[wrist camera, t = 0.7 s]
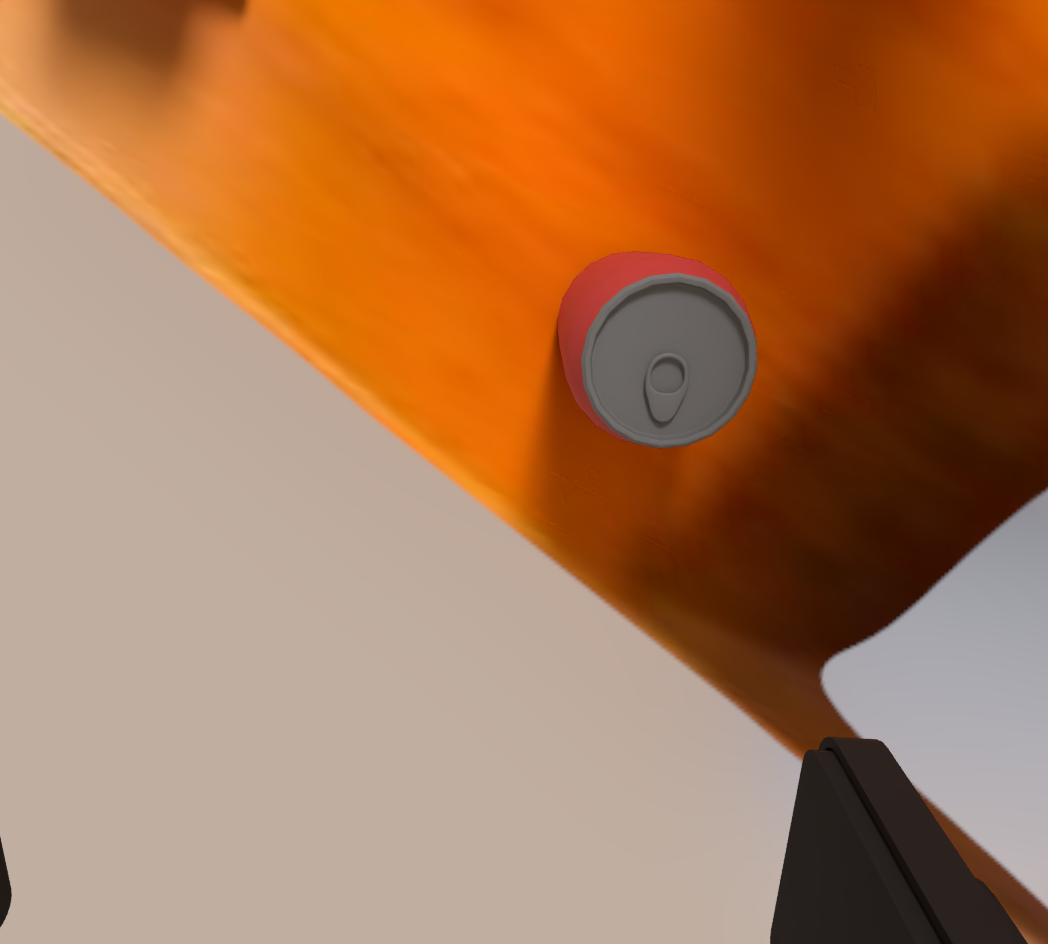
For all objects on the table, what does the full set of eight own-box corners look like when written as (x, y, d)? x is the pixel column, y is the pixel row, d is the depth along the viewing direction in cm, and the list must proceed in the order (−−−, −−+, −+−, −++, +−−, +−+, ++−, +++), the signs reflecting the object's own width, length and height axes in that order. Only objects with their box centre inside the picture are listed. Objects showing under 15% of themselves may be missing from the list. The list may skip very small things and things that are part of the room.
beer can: (552, 389, 36) (558, 457, 25) (561, 247, 34) (573, 249, 23) (688, 397, 36) (758, 470, 24) (706, 255, 34) (791, 262, 23)
